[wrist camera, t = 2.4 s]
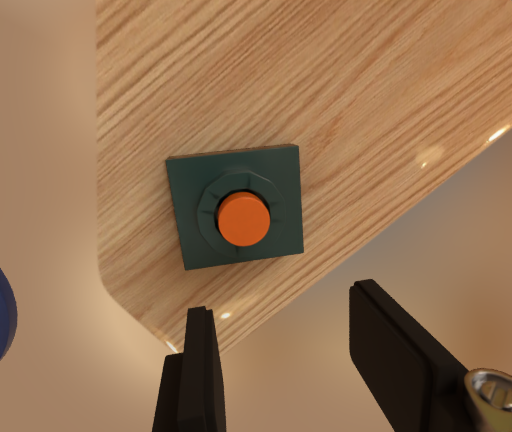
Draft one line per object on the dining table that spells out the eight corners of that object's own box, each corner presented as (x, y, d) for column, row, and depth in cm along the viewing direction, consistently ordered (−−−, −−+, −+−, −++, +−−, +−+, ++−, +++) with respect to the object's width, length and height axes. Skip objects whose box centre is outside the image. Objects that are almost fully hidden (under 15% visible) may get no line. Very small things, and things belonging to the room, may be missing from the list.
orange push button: (220, 240, 24) (221, 250, 22) (214, 194, 23) (215, 200, 21) (267, 234, 24) (272, 242, 22) (263, 188, 23) (268, 194, 21)
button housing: (186, 259, 28) (183, 281, 24) (168, 156, 25) (162, 163, 21) (296, 243, 29) (310, 262, 25) (291, 143, 26) (305, 147, 22)
